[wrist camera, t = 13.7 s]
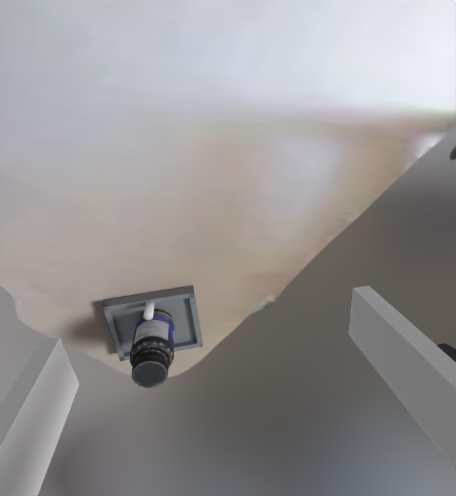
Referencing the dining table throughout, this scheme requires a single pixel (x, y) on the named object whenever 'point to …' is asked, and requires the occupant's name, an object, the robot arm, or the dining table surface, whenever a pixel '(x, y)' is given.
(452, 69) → the dining table surface
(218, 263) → the dining table surface
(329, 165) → the dining table surface
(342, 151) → the dining table surface
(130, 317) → the tray
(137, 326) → the pill bottle
